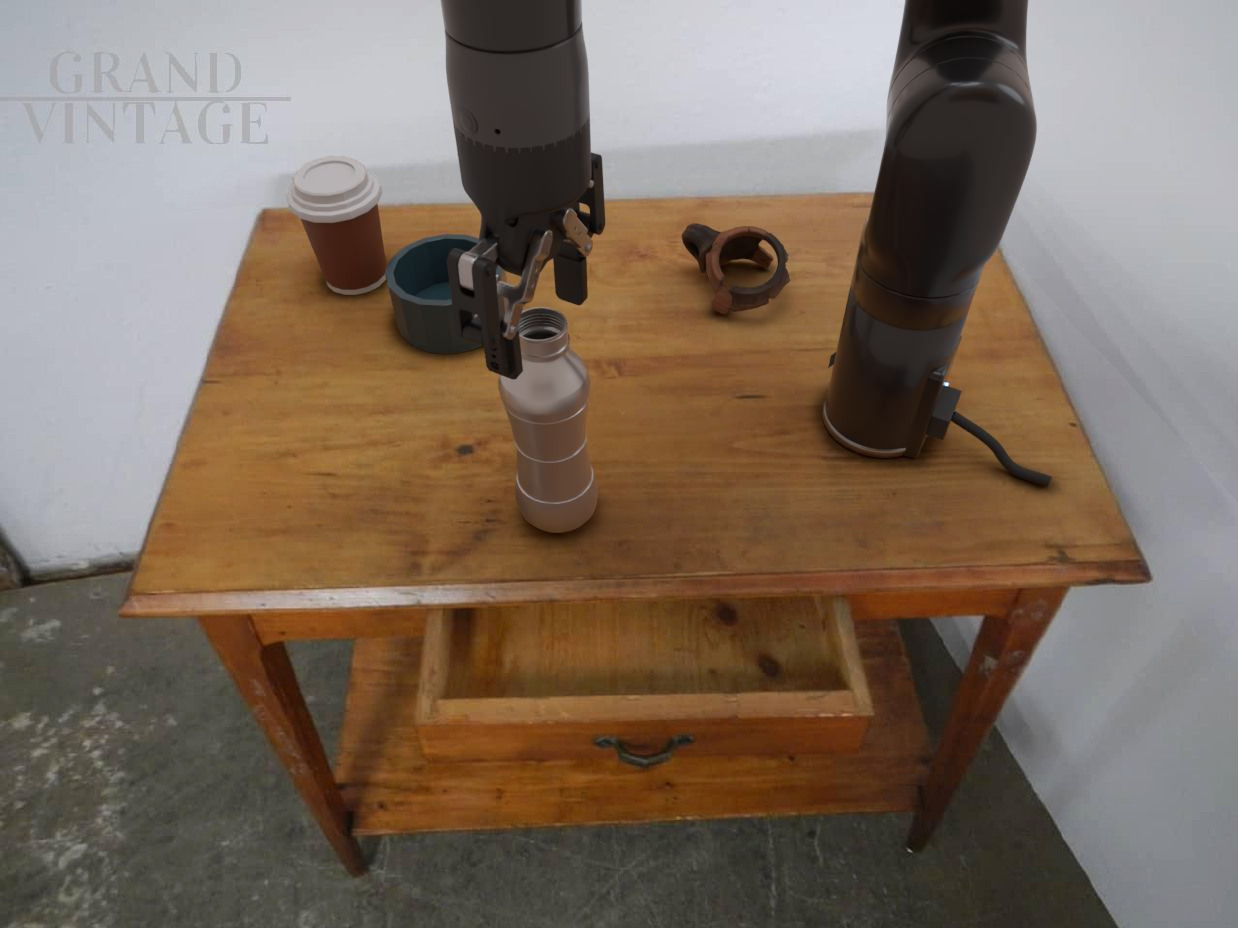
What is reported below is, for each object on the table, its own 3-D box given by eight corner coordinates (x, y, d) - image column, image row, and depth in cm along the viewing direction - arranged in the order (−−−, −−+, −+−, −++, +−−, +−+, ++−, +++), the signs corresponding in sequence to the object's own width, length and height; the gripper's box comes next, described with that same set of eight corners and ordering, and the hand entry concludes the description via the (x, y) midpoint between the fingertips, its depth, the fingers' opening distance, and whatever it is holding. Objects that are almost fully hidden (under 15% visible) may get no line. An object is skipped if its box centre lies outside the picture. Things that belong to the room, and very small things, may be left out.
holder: (530, 301, 96) (525, 252, 91) (469, 367, 89) (460, 318, 85) (439, 271, 99) (430, 223, 95) (374, 333, 93) (361, 284, 88)
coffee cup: (297, 296, 97) (263, 194, 88) (335, 245, 102) (307, 144, 93) (379, 308, 95) (353, 206, 86) (413, 256, 101) (392, 155, 92)
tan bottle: (589, 549, 75) (578, 362, 60) (508, 536, 76) (476, 349, 61) (606, 488, 79) (600, 299, 64) (529, 477, 80) (504, 288, 65)
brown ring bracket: (797, 273, 99) (812, 240, 91) (754, 348, 97) (765, 321, 89) (697, 221, 100) (703, 184, 92) (654, 293, 99) (656, 262, 91)
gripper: (508, 188, 46) (533, 420, 58) (641, 67, 54) (638, 292, 66) (385, 151, 48) (433, 381, 60) (530, 41, 56) (546, 262, 69)
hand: (540, 334), depth 63 cm, fingers open, 8 cm apart
